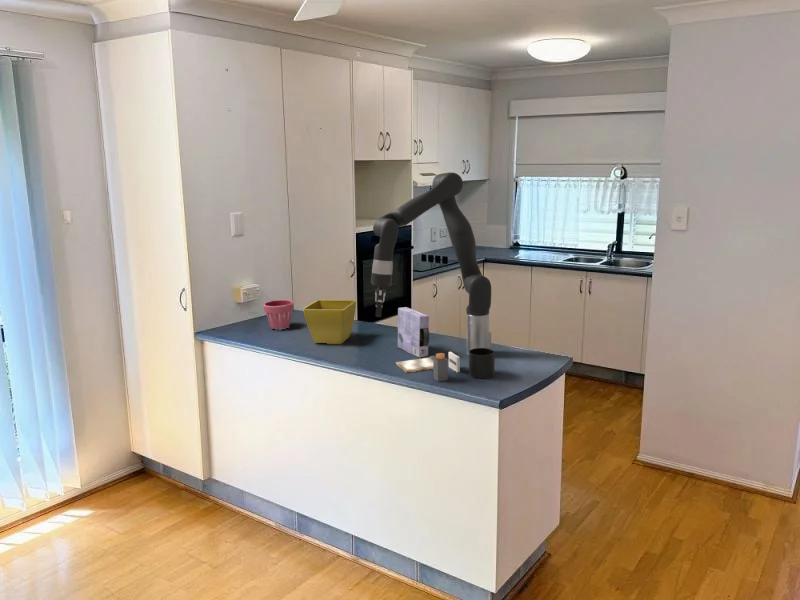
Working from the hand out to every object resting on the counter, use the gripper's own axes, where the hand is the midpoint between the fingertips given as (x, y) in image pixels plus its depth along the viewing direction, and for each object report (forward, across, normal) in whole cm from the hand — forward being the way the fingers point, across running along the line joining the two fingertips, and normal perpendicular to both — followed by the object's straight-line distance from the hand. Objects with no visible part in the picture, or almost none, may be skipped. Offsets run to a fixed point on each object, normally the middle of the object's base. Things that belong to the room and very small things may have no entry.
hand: (378, 315), depth 244 cm
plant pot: (+23, +74, +48) cm, 91 cm away
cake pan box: (+19, +26, -16) cm, 36 cm away
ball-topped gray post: (+20, -9, -25) cm, 33 cm away
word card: (+19, +1, -31) cm, 36 cm away
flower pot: (+22, +49, +20) cm, 57 cm away
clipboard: (+20, +8, -18) cm, 28 cm away
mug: (+18, -5, -41) cm, 45 cm away
